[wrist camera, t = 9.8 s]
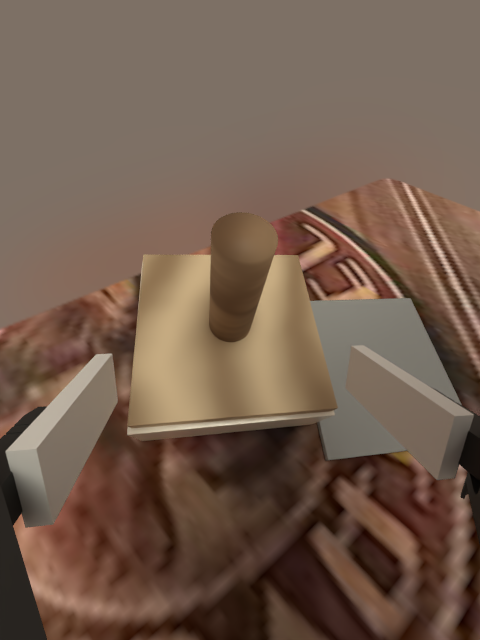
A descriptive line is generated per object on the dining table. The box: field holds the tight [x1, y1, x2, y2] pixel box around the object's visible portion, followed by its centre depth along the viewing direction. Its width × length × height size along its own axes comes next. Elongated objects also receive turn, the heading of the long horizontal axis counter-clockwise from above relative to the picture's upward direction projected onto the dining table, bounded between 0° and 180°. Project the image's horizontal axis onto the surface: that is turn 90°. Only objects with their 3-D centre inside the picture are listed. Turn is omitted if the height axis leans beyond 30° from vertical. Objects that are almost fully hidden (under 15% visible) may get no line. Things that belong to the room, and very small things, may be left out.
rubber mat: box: [310, 298, 461, 460], centre depth 28 cm, size 15×16×1 cm
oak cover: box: [127, 212, 338, 428], centre depth 18 cm, size 14×14×11 cm
